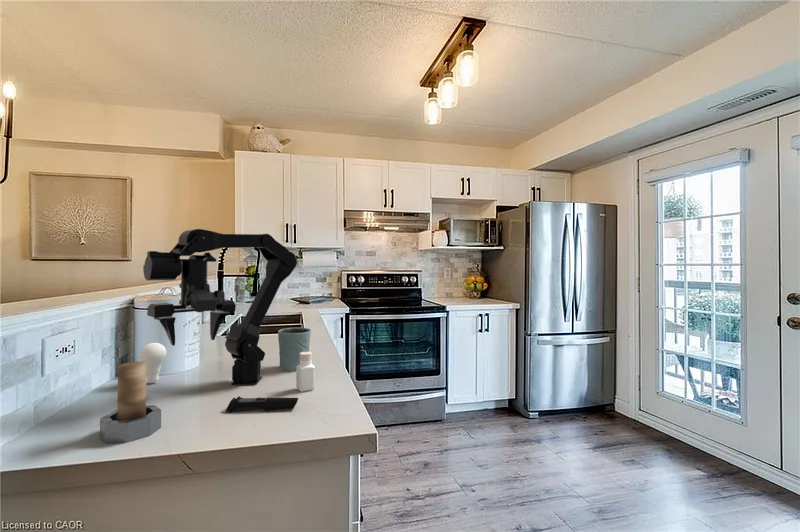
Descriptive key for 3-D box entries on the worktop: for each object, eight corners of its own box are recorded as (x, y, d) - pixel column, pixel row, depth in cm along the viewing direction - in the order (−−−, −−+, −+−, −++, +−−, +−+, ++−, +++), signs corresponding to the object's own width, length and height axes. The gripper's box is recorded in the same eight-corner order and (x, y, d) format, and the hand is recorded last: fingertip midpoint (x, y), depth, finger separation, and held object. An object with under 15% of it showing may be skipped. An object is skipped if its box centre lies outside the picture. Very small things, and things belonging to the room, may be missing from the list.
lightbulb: (156, 386, 100) (157, 345, 100) (133, 386, 100) (134, 344, 100) (171, 380, 106) (171, 340, 106) (149, 379, 106) (150, 340, 106)
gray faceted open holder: (168, 421, 78) (168, 404, 78) (141, 442, 69) (142, 422, 69) (122, 422, 77) (122, 405, 77) (89, 443, 68) (89, 423, 68)
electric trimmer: (296, 414, 84) (296, 400, 84) (224, 414, 83) (224, 399, 83) (299, 408, 87) (300, 394, 87) (231, 407, 87) (231, 393, 87)
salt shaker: (310, 385, 102) (310, 350, 102) (315, 390, 99) (315, 353, 99) (295, 388, 100) (295, 352, 100) (300, 392, 96) (300, 355, 96)
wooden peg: (147, 425, 76) (148, 360, 76) (143, 434, 72) (144, 366, 72) (120, 429, 74) (121, 362, 74) (114, 438, 70) (115, 368, 70)
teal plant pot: (298, 362, 127) (298, 326, 127) (317, 367, 120) (317, 329, 120) (271, 368, 119) (271, 330, 119) (289, 374, 112) (290, 334, 112)
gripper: (163, 281, 82) (162, 354, 82) (246, 280, 96) (245, 341, 96) (146, 280, 89) (146, 346, 89) (226, 278, 103) (225, 336, 103)
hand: (193, 342), depth 94 cm, fingers open, 9 cm apart
